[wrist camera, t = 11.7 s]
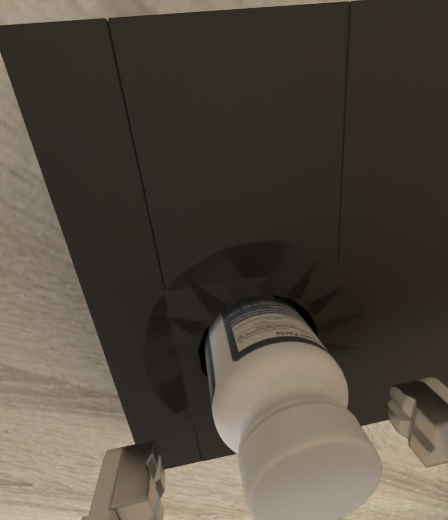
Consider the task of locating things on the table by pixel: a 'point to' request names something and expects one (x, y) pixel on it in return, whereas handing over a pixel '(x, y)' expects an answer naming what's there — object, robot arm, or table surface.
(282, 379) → the pill bottle
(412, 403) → the robot arm
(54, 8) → the table surface
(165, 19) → the socket pad
